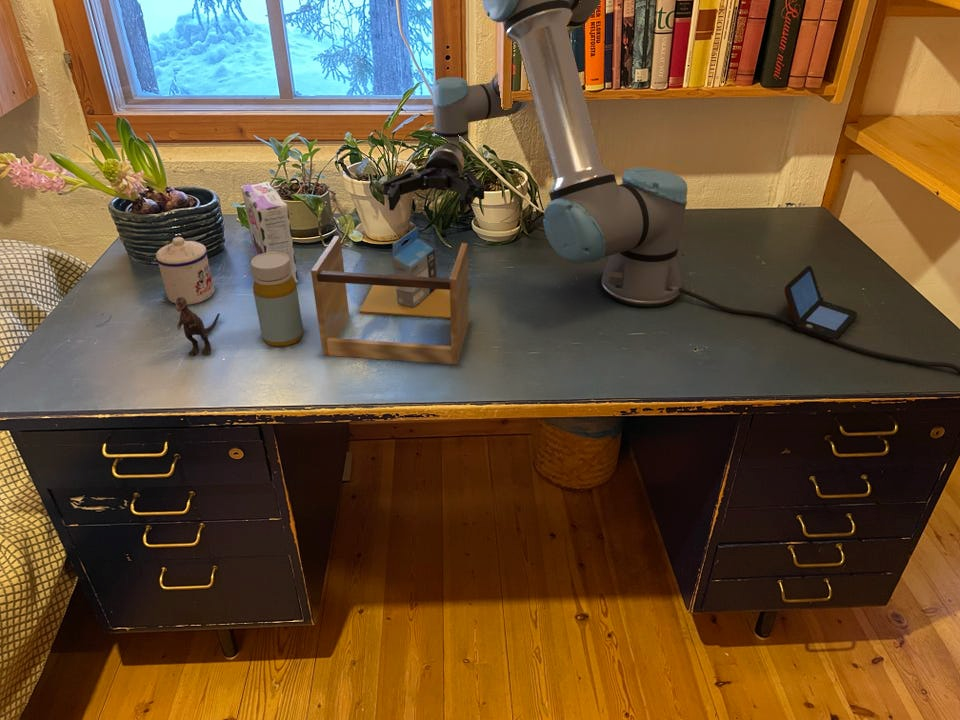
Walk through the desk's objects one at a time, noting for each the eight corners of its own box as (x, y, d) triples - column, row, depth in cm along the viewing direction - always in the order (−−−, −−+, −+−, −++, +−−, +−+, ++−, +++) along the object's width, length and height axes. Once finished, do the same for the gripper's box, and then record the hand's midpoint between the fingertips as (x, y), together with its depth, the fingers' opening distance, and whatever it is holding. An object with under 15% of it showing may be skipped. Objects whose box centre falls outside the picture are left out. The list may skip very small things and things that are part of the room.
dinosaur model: (168, 302, 116) (194, 263, 128) (180, 366, 121) (203, 323, 134) (194, 302, 116) (217, 264, 129) (205, 366, 122) (226, 324, 135)
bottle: (259, 331, 131) (244, 255, 122) (299, 323, 133) (287, 247, 125) (266, 351, 126) (251, 273, 117) (307, 343, 128) (295, 265, 119)
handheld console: (833, 345, 128) (845, 307, 123) (773, 323, 133) (782, 287, 129) (858, 317, 135) (870, 281, 131) (799, 298, 141) (809, 263, 137)
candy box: (254, 260, 154) (239, 184, 145) (282, 254, 156) (269, 179, 147) (270, 289, 144) (256, 209, 135) (300, 282, 146) (288, 203, 137)
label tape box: (414, 308, 137) (410, 248, 130) (395, 303, 138) (391, 243, 131) (437, 288, 143) (435, 229, 136) (419, 284, 145) (416, 225, 138)
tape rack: (468, 324, 133) (467, 243, 124) (457, 365, 122) (455, 279, 113) (344, 316, 135) (334, 235, 126) (322, 355, 125) (310, 270, 116)
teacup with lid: (208, 306, 138) (195, 249, 132) (159, 306, 138) (143, 249, 132) (225, 276, 148) (214, 222, 142) (180, 276, 148) (166, 222, 142)
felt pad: (465, 287, 144) (465, 286, 144) (455, 319, 135) (455, 317, 134) (375, 282, 146) (375, 280, 146) (359, 312, 136) (359, 310, 136)
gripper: (502, 186, 158) (491, 226, 140) (388, 182, 161) (363, 220, 143) (503, 152, 154) (491, 188, 136) (385, 148, 156) (360, 183, 139)
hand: (426, 205), depth 140 cm, fingers open, 13 cm apart
